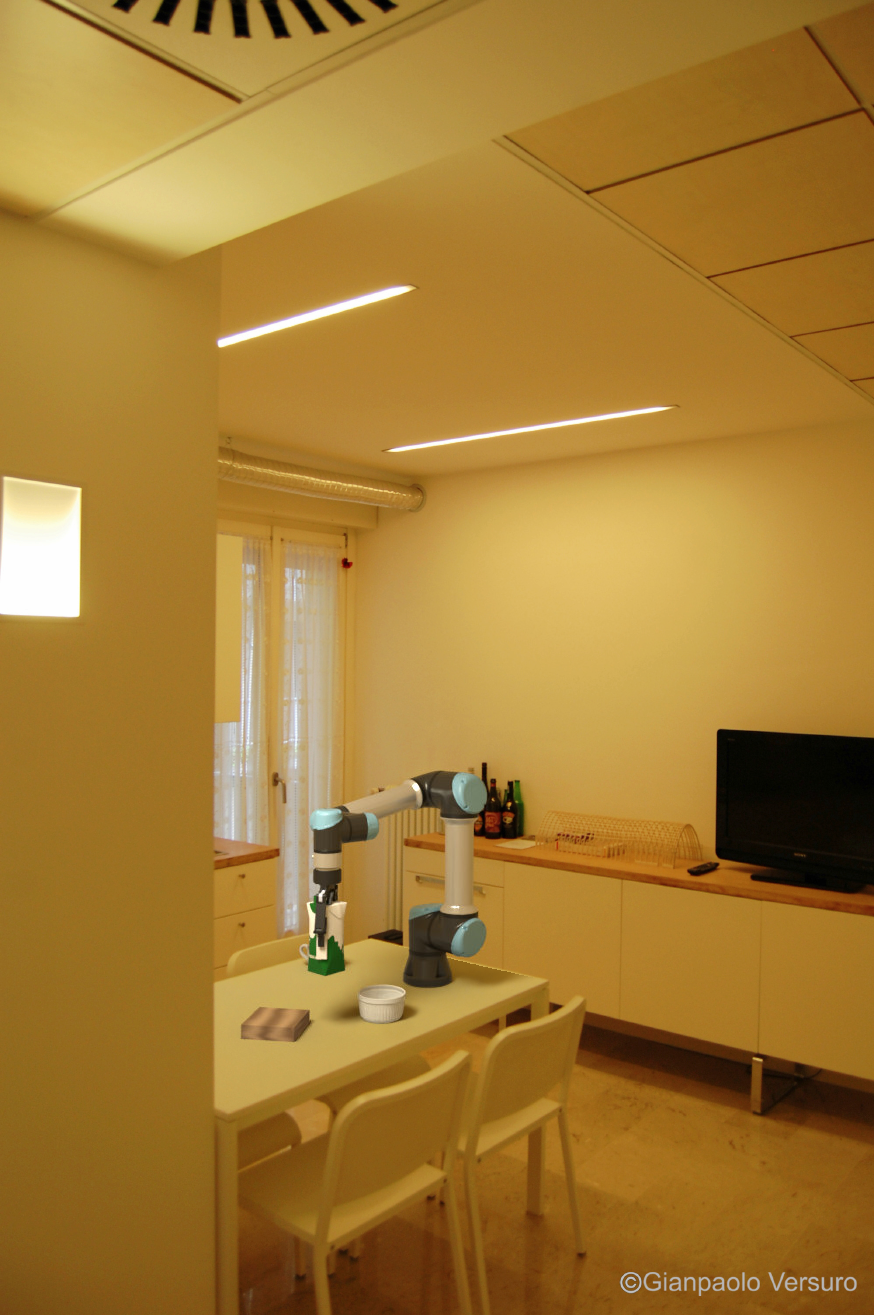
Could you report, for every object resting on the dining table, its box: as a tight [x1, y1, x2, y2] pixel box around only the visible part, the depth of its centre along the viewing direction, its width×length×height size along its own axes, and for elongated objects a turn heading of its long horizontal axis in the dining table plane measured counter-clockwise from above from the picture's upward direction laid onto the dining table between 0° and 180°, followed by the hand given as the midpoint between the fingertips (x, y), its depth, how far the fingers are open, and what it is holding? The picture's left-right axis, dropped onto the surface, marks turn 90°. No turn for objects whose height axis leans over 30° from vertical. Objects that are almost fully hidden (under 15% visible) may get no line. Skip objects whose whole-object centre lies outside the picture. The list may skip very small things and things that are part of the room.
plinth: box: [240, 1006, 311, 1043], centre depth 250 cm, size 14×14×4 cm
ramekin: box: [357, 984, 407, 1025], centre depth 262 cm, size 13×13×7 cm
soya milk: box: [306, 894, 348, 977], centre depth 253 cm, size 9×9×20 cm
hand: (326, 953), depth 253 cm, fingers closed on soya milk, 9 cm apart
